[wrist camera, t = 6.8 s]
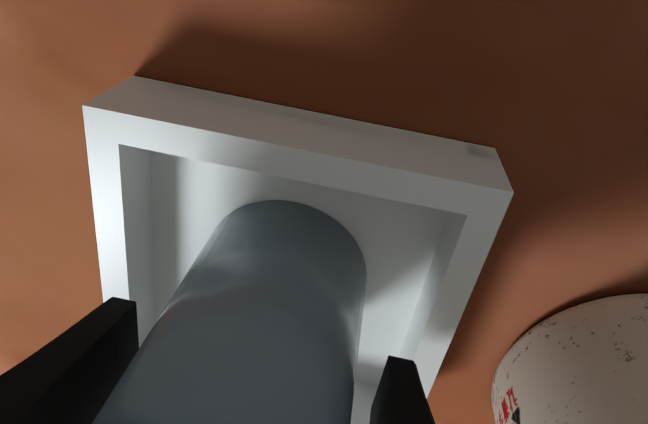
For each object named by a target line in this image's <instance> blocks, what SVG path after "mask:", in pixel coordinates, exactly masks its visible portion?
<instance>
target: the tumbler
mask: <svg viewBox="0 0 648 424" xmlns="http://www.w3.org/2000/svg"><path fill="white" fill-rule="evenodd" d="M366 282H367V270H366V263H365V260H364V257H363V254H362V252H361V250H360V247H359V245H358V244H357V242H356V241H355V239H354V238H353V236H352V235H351V234H350V233H349V232H348V231H347V230H346V228H344V227H343V226H342V225H341V224H340V223H339V222H338V221H336V220H335V219H333V218H332V217H331V216H329V215H327V214H326V213H324V212H322V211H320V210H318V209H316V208H313V207H311V206H308V205H305V204H301V203H298V202H292V201H286V200H265V201H259V202H254V203H250V204H247V205H244V206H242V207H240V208H238V209H236V210H234V211H233V212H231V213H230V214H228V215H227V216H226V217H225V218H224V219H223V220H222V221H221V222H220V223H219V224H218V225H217V227H216V228H215V230H214V231H213V233H212V234H211V236H210V237H209V239H208V241H207V242H206V244H205V245H204V247H203V248H202V250H201V252H200V253H199V255H198V256H197V258H196V260H195V261H194V263H193V264H192V266H191V267H190V269H189V271H188V272H187V274H186V275H185V277H184V279H183V280H182V282H181V283H180V285H179V286H178V288H177V290H176V291H175V293H174V294H173V296H172V297H171V299H170V301H169V302H168V304H167V305H166V307H165V309H164V310H163V312H162V313H161V315H160V316H159V318H158V320H157V321H156V323H155V324H154V326H153V328H152V329H151V331H150V332H149V334H148V335H147V337H146V339H145V340H144V342H143V343H142V345H141V346H140V348H139V350H138V351H137V353H136V354H135V356H134V358H133V359H132V361H131V362H130V364H129V365H128V367H127V369H126V370H125V372H124V373H123V375H122V377H121V378H120V380H119V381H118V383H117V384H116V386H115V388H114V389H113V391H112V392H111V394H110V395H109V397H108V399H107V400H106V402H105V403H104V405H103V407H102V408H101V410H100V411H99V413H98V414H97V416H96V418H95V419H94V421H93V422H92V424H350V423H351V414H352V405H353V397H354V388H355V379H356V370H357V361H358V352H359V344H360V335H361V326H362V317H363V308H364V299H365V291H366Z"/></svg>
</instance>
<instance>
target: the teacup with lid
mask: <svg viewBox="0 0 648 424" xmlns="http://www.w3.org/2000/svg"><path fill="white" fill-rule="evenodd" d="M491 394H492V406H493V411H494V417H495V422H496V424H648V293H640V294H626V295H619V296H611V297H606V298H601V299H597V300H593V301H589V302H586V303H582V304H579V305H577V306H574V307H571V308H568V309H566V310H564V311H561V312H559V313H557V314H555V315H553V316H551V317H549V318H547V319H545V320H544V321H542V322H541V323H539V324H537V325H536V326H534V327H533V328H532V329H530V330H529V331H528V332H526V333H525V334H524V335H523V336H522V337H521V338H520V339H518V340H517V341H516V342H515V343H514V345H513V346H512V347H511V348H510V349H509V350H508V352H507V353H506V354H505V356H504V357H503V359H502V360H501V362H500V364H499V366H498V368H497V371H496V373H495V376H494V380H493V384H492V393H491Z"/></svg>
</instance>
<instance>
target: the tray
mask: <svg viewBox="0 0 648 424" xmlns="http://www.w3.org/2000/svg"><path fill="white" fill-rule="evenodd" d="M82 107H83V116H84V126H85V135H86V144H87V153H88V163H89V172H90V181H91V191H92V200H93V209H94V219H95V228H96V237H97V246H98V256H99V265H100V274H101V284H102V293H103V302H105V301H107V300H108V299H110V298H111V297H117V298H122V299H126V300H131V301H136V305H137V321H138V338H139V348H140V346H141V345H142V343H143V342H144V340H145V339H146V337H147V335H148V334H149V332H150V331H151V329H152V328H153V326H154V324H155V323H156V321H157V320H158V318H159V316H160V315H161V313H162V312H163V310H164V309H165V307H166V305H167V304H168V302H169V301H170V299H171V297H172V296H173V294H174V293H175V291H176V290H177V288H178V286H179V285H180V283H181V282H182V280H183V279H184V277H185V275H186V274H187V272H188V271H189V269H190V267H191V266H192V264H193V263H194V261H195V260H196V258H197V256H198V255H199V253H200V252H201V250H202V248H203V247H204V245H205V244H206V242H207V241H208V239H209V237H210V236H211V234H212V233H213V231H214V230H215V228H216V227H217V225H218V224H219V223H220V222H221V221H222V220H223V219H224V218H225V217H226V216H227V215H228V214H230V213H231V212H233V211H234V210H236V209H238V208H240V207H242V206H244V205H247V204H250V203H254V202H259V201H265V200H286V201H292V202H298V203H301V204H305V205H308V206H311V207H313V208H316V209H318V210H320V211H322V212H324V213H326V214H327V215H329V216H331V217H332V218H333V219H335V220H336V221H338V222H339V223H340V224H341V225H342V226H343V227H344V228H346V230H347V231H348V232H349V233H350V234H351V235H352V236H353V238H354V239H355V241H356V242H357V244H358V245H359V247H360V250H361V252H362V254H363V257H364V260H365V263H366V270H367V282H366V291H365V299H364V308H363V317H362V326H361V335H360V344H359V352H358V361H357V370H356V379H355V388H354V397H353V405H352V414H351V423H350V424H369V422H370V413H371V406H372V403H373V400H374V397H375V394H376V391H377V388H378V385H379V382H380V379H381V376H382V373H383V370H384V367H385V364H386V361H387V358H388V355H390V356H394V357H399V358H404V359H409V360H413V361H414V362H415V364H416V366H417V370H418V373H419V377H420V380H421V383H422V387H423V390H424V393H425V396H426V399H427V397H428V394H429V392H430V390H431V387H432V385H433V383H434V380H435V378H436V376H437V373H438V371H439V368H440V366H441V364H442V361H443V359H444V357H445V354H446V352H447V350H448V347H449V345H450V343H451V340H452V338H453V335H454V333H455V331H456V328H457V326H458V324H459V321H460V319H461V317H462V314H463V312H464V309H465V307H466V305H467V302H468V300H469V298H470V295H471V293H472V291H473V288H474V286H475V284H476V281H477V279H478V276H479V274H480V272H481V269H482V267H483V265H484V262H485V260H486V258H487V255H488V253H489V250H490V248H491V246H492V243H493V241H494V239H495V236H496V234H497V232H498V229H499V227H500V225H501V222H502V220H503V217H504V215H505V213H506V210H507V208H508V206H509V203H510V201H511V199H512V196H513V194H514V192H513V189H512V187H511V184H510V182H509V180H508V177H507V175H506V173H505V170H504V168H503V166H502V163H501V161H500V159H499V156H498V154H497V152H496V149H495V148H492V147H487V146H482V145H477V144H472V143H467V142H462V141H457V140H452V139H448V138H443V137H438V136H433V135H428V134H423V133H418V132H413V131H408V130H403V129H398V128H393V127H388V126H383V125H378V124H373V123H368V122H363V121H358V120H353V119H348V118H343V117H338V116H333V115H328V114H323V113H318V112H313V111H308V110H303V109H298V108H293V107H288V106H283V105H278V104H273V103H268V102H263V101H258V100H253V99H248V98H243V97H238V96H233V95H228V94H223V93H218V92H213V91H208V90H203V89H198V88H193V87H188V86H183V85H178V84H173V83H168V82H163V81H158V80H153V79H148V78H143V77H138V76H133V75H132V76H131V77H129V78H127V79H126V80H124V81H122V82H121V83H119V84H117V85H115V86H114V87H112V88H110V89H109V90H107V91H105V92H104V93H102V94H100V95H99V96H97V97H95V98H94V99H92V100H90V101H89V102H87V103H85V104H83V105H82Z"/></svg>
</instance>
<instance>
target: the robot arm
mask: <svg viewBox="0 0 648 424" xmlns="http://www.w3.org/2000/svg"><path fill="white" fill-rule="evenodd" d="M138 350H139V338H138V321H137V305H136V301H131V300H126V299H122V298H117V297H111V298H110V299H108V300H107V301H105V302H104V303H103V304H101V305H100V306H99V307H97V308H96V309H95V310H93V311H92V312H91V313H89V314H88V315H87V316H85V317H84V318H82V319H81V320H80V321H78V322H77V323H76V324H74V325H73V326H72V327H70V328H69V329H68V330H66V331H65V332H64V333H62V334H61V335H59V336H58V337H57V338H55V339H54V340H52V341H51V342H49V343H48V344H47V345H45V346H44V347H42V348H41V349H40V350H38V351H37V352H35V353H34V354H32V355H31V356H29V357H28V358H27V359H25V360H24V361H22V362H21V363H19V364H17V365H16V366H14V367H13V368H11V369H10V370H8V371H7V372H5V373H4V374H2V375H0V424H92V422H93V421H94V419H95V418H96V416H97V414H98V413H99V411H100V410H101V408H102V407H103V405H104V403H105V402H106V400H107V399H108V397H109V395H110V394H111V392H112V391H113V389H114V388H115V386H116V384H117V383H118V381H119V380H120V378H121V377H122V375H123V373H124V372H125V370H126V369H127V367H128V365H129V364H130V362H131V361H132V359H133V358H134V356H135V354H136V353H137V351H138ZM369 424H435V421H434V419H433V416H432V413H431V410H430V408H429V405H428V402H427V399H426V396H425V393H424V390H423V387H422V383H421V380H420V377H419V373H418V370H417V366H416V364H415V362H414V361H413V360H409V359H404V358H399V357H394V356H390V355H388V358H387V361H386V364H385V367H384V370H383V373H382V376H381V379H380V382H379V385H378V388H377V391H376V394H375V397H374V400H373V403H372V406H371V413H370V422H369Z"/></svg>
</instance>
